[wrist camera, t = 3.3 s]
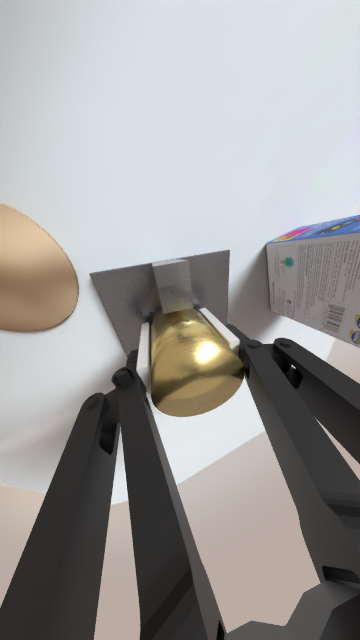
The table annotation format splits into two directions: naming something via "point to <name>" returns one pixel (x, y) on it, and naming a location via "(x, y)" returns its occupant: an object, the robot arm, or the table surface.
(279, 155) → the table surface
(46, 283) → the coaster
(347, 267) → the ink cartridge box
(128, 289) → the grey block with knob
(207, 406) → the bell
